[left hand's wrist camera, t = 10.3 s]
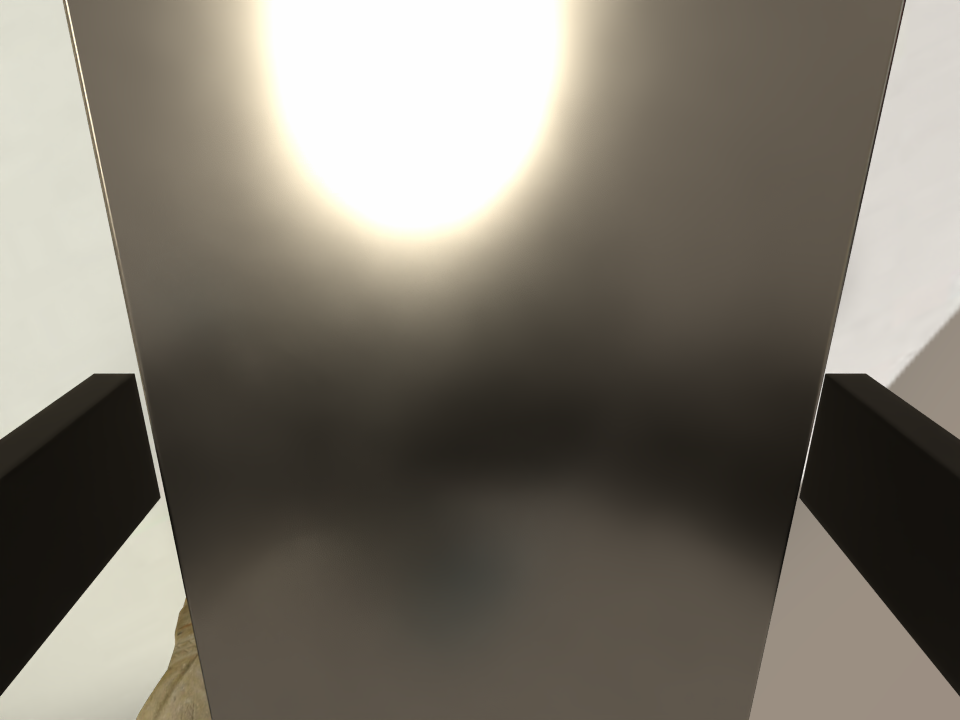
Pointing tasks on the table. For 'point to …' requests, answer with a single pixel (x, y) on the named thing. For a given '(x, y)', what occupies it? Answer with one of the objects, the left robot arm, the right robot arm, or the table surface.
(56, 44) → the table surface
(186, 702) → the sculpture
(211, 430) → the bar
